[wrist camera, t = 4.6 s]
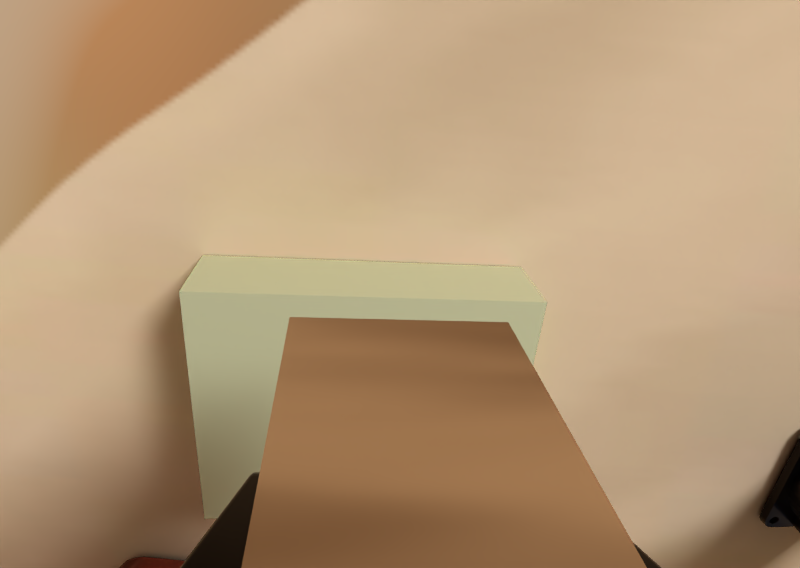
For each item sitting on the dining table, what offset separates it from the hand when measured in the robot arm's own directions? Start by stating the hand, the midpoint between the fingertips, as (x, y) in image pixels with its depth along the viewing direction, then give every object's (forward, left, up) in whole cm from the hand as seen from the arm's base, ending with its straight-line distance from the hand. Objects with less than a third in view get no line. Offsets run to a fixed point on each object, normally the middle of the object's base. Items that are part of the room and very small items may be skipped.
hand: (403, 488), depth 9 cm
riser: (-6, 0, -12) cm, 13 cm away
